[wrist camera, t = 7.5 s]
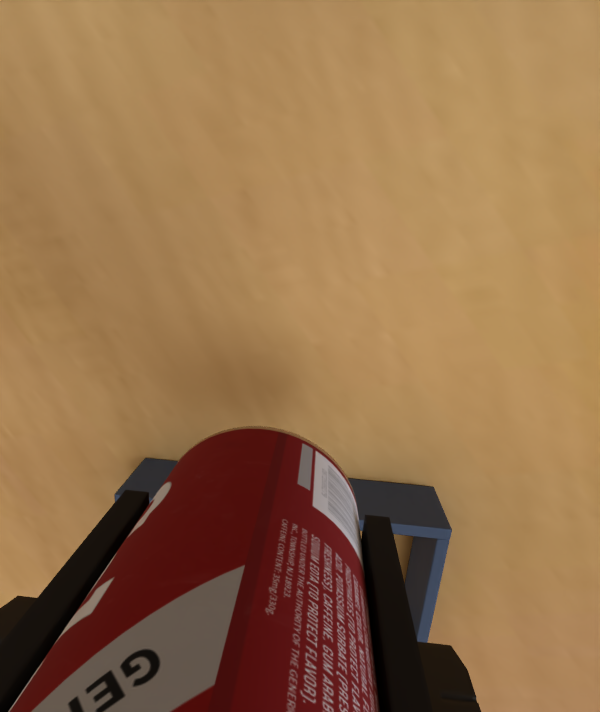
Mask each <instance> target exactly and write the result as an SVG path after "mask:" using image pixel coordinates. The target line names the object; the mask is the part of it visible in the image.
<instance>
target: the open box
mask: <svg viewBox="0 0 600 712" xmlns="http://www.w3.org/2000/svg"><path fill="white" fill-rule="evenodd" d="M177 463H178V461H170V460H160V459H150V458H145V459H144V460H143V461H142V462H141V464H140V465H139V466H138V467H137V468H136V470H135V471H134V472H133V473H132V474H131V475H130V477H129V478H128V479H127V480H126V481H125V483H124V484H123V485H122V486H121V487H120V489H119V490H118V491H117V492H116V493H115V502H116V501H117V500H118V498H119V497H120V496H121V495H122V493H123V492H124V491H125V490H134V491H143V492H149V504H150V502H151V501H152V499H153V498H154V496H155V495H156V494H157V492H158V491H159V489H160V488H161V486H162V485H163V483H164V482H165V480H166V479H167V477H168V476H169V474H170V473H171V471H172V470H173V468H174V467H175V466H176V464H177ZM348 480H349V482H350V484H351V486H352V489H353V492H354V495H355V498H356V503H357V509H358V518H359V527H360V530H361V531H363V524H364V517H365V515H374V516H383V517H390V522H391V526H392V531H393V534H399V535H408V536H414V537H413V543H412V548H411V553H410V559H409V564H408V570H407V575H406V581H405V589H406V593H407V598H408V602H409V607H410V611H411V616H412V620H413V625H414V629H415V634H416V638H417V642H425V643H427V641H428V637H429V632H430V627H431V623H432V618H433V613H434V609H435V604H436V600H437V595H438V590H439V586H440V581H441V577H442V572H443V567H444V563H445V558H446V554H447V549H448V544H449V540H450V536H451V532H452V529H451V527H450V524H449V522H448V520H447V517H446V515H445V513H444V510H443V508H442V506H441V503H440V501H439V499H438V496H437V494H436V492H435V489H434V487H429V486H419V485H409V484H399V483H389V482H379V481H369V480H359V479H349V478H348Z"/></svg>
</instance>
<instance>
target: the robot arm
mask: <svg viewBox="0 0 600 712" xmlns="http://www.w3.org/2000/svg"><path fill="white" fill-rule="evenodd" d="M148 505H149V492H143V491H134V490H125V491H124V492H123V493H122V495H121V496H120V497H119V498H118V500H117V501H116V502H115V503H114V504H113V506H112V507H111V508H110V509H109V511H108V512H107V513H106V514H105V516H104V517H103V518H102V519H101V520H100V522H99V523H98V524H97V525H96V527H95V528H94V529H93V530H92V532H91V533H90V534H89V535H88V536H87V538H86V539H85V540H84V541H83V543H82V544H81V545H80V546H79V548H78V549H77V550H76V551H75V552H74V554H73V555H72V556H71V557H70V559H69V560H68V561H67V562H66V564H65V565H64V566H63V567H62V568H61V570H60V571H59V572H58V573H57V575H56V576H55V577H54V578H53V580H52V581H51V582H50V583H49V584H48V586H47V587H46V588H45V589H44V591H43V592H42V593H41V594H40V596H39V597H38V598H33V597H24V596H17V597H16V598H14V599H13V600H11V601H10V602H9V603H7V604H6V605H4V606H3V607H2V608H0V712H8V711H9V710H10V708H11V707H12V706H13V704H14V703H15V701H16V700H17V698H18V697H19V695H20V694H21V692H22V691H23V689H24V688H25V686H26V685H27V683H28V682H29V681H30V679H31V678H32V676H33V675H34V673H35V672H36V670H37V669H38V667H39V666H40V664H41V663H42V661H43V660H44V658H45V657H46V655H47V654H48V653H49V651H50V650H51V648H52V647H53V645H54V644H55V642H56V641H57V639H58V638H59V636H60V635H61V633H62V632H63V630H64V629H65V627H66V626H67V625H68V623H69V622H70V620H71V619H72V617H73V616H74V614H75V613H76V611H77V610H78V608H79V607H80V605H81V604H82V602H83V601H84V600H85V598H86V597H87V595H88V594H89V592H90V591H91V589H92V588H93V586H94V585H95V583H96V582H97V580H98V579H99V577H100V576H101V574H102V573H103V572H104V570H105V569H106V567H107V566H108V564H109V563H110V561H111V560H112V558H113V557H114V555H115V554H116V552H117V551H118V549H119V548H120V547H121V545H122V544H123V542H124V541H125V539H126V538H127V536H128V535H129V533H130V532H131V530H132V529H133V527H134V526H135V524H136V523H137V521H138V520H139V519H140V517H141V516H142V514H143V513H144V511H145V510H146V508H147V507H148ZM361 545H362V554H363V563H364V572H365V580H366V589H367V598H368V607H369V616H370V625H371V634H372V643H373V652H374V661H375V669H376V678H377V687H378V696H379V705H380V712H481V710H480V707H479V704H478V703H477V701H476V695H475V692H474V689H473V686H472V683H471V680H470V676H469V673H468V670H467V669H466V667H465V666H464V664H463V663H462V661H461V660H460V658H459V657H458V655H457V654H456V652H455V651H454V650H453V648H452V647H451V646H450V645H442V644H433V643H425V642H417V638H416V634H415V629H414V625H413V620H412V616H411V611H410V607H409V602H408V598H407V593H406V589H405V584H404V580H403V575H402V571H401V566H400V562H399V557H398V553H397V548H396V544H395V540H394V535H393V531H392V526H391V522H390V517H383V516H374V515H365V517H364V524H363V531H362V538H361Z"/></svg>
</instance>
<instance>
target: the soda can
mask: <svg viewBox="0 0 600 712" xmlns="http://www.w3.org/2000/svg"><path fill="white" fill-rule="evenodd" d="M8 712H380V705H379V696H378V687H377V678H376V669H375V661H374V652H373V643H372V634H371V625H370V616H369V607H368V598H367V589H366V580H365V572H364V563H363V554H362V545H361V536H360V527H359V518H358V509H357V503H356V498H355V495H354V492H353V489H352V486H351V484H350V482H349V480H348V478H347V477H346V475H345V473H344V472H343V470H342V469H341V468H340V466H339V465H338V464H337V463H336V461H335V460H334V459H333V458H332V457H331V456H330V455H329V454H327V453H326V452H325V451H324V450H323V449H321V448H320V447H319V446H317V445H316V444H314V443H312V442H311V441H309V440H307V439H305V438H303V437H301V436H299V435H296V434H294V433H291V432H288V431H285V430H281V429H277V428H271V427H262V426H246V427H237V428H232V429H228V430H224V431H221V432H218V433H215V434H213V435H211V436H209V437H207V438H205V439H203V440H202V441H200V442H198V443H197V444H195V445H194V446H193V447H192V448H190V449H189V450H188V451H187V452H186V453H185V454H184V455H183V456H182V458H181V459H180V460H179V461H178V463H177V464H176V466H175V467H174V468H173V470H172V471H171V473H170V474H169V476H168V477H167V479H166V480H165V482H164V483H163V485H162V486H161V488H160V489H159V491H158V492H157V494H156V495H155V496H154V498H153V499H152V501H151V502H150V504H149V505H148V507H147V508H146V510H145V511H144V513H143V514H142V516H141V517H140V519H139V520H138V521H137V523H136V524H135V526H134V527H133V529H132V530H131V532H130V533H129V535H128V536H127V538H126V539H125V541H124V542H123V544H122V545H121V547H120V548H119V549H118V551H117V552H116V554H115V555H114V557H113V558H112V560H111V561H110V563H109V564H108V566H107V567H106V569H105V570H104V572H103V573H102V574H101V576H100V577H99V579H98V580H97V582H96V583H95V585H94V586H93V588H92V589H91V591H90V592H89V594H88V595H87V597H86V598H85V600H84V601H83V602H82V604H81V605H80V607H79V608H78V610H77V611H76V613H75V614H74V616H73V617H72V619H71V620H70V622H69V623H68V625H67V626H66V627H65V629H64V630H63V632H62V633H61V635H60V636H59V638H58V639H57V641H56V642H55V644H54V645H53V647H52V648H51V650H50V651H49V653H48V654H47V655H46V657H45V658H44V660H43V661H42V663H41V664H40V666H39V667H38V669H37V670H36V672H35V673H34V675H33V676H32V678H31V679H30V681H29V682H28V683H27V685H26V686H25V688H24V689H23V691H22V692H21V694H20V695H19V697H18V698H17V700H16V701H15V703H14V704H13V706H12V707H11V708H10V710H9V711H8Z"/></svg>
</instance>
